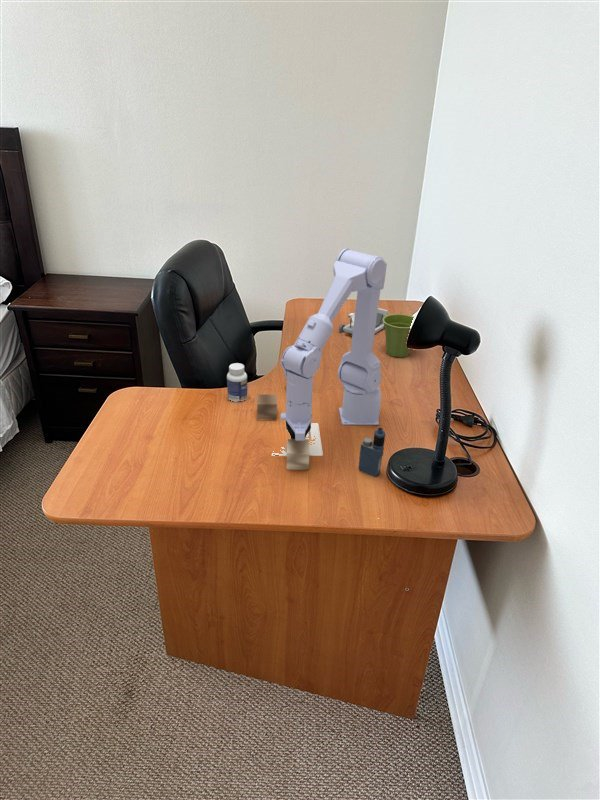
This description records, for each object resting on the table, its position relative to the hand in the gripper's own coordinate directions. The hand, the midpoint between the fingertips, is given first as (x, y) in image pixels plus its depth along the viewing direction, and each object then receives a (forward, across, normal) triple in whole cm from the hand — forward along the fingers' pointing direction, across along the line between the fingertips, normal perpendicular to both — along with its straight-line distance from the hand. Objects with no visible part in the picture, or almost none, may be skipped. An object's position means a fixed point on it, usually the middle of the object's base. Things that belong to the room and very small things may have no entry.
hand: (297, 448), depth 130 cm
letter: (+2, -7, 0) cm, 7 cm away
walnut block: (+2, -18, -7) cm, 19 cm away
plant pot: (+2, -56, +35) cm, 66 cm away
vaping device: (+2, +6, +16) cm, 17 cm away
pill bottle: (+2, -27, -15) cm, 31 cm away
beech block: (+2, +3, 0) cm, 3 cm away
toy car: (+3, -74, +26) cm, 78 cm away
